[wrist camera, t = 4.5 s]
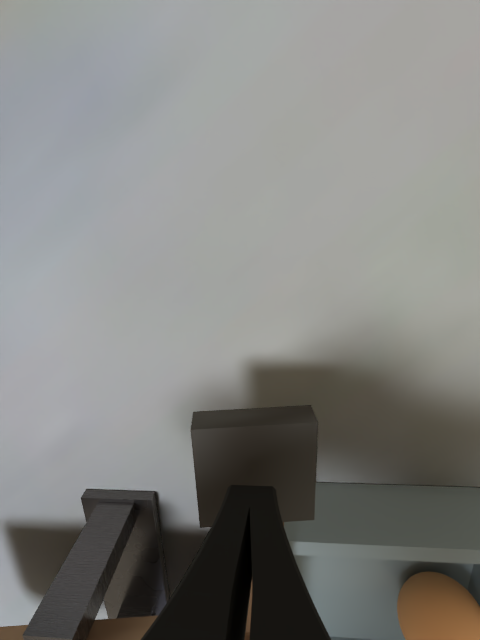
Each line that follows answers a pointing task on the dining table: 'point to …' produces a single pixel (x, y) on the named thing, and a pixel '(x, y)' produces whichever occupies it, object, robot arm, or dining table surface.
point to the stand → (106, 568)
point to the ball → (437, 609)
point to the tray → (382, 550)
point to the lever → (237, 480)
